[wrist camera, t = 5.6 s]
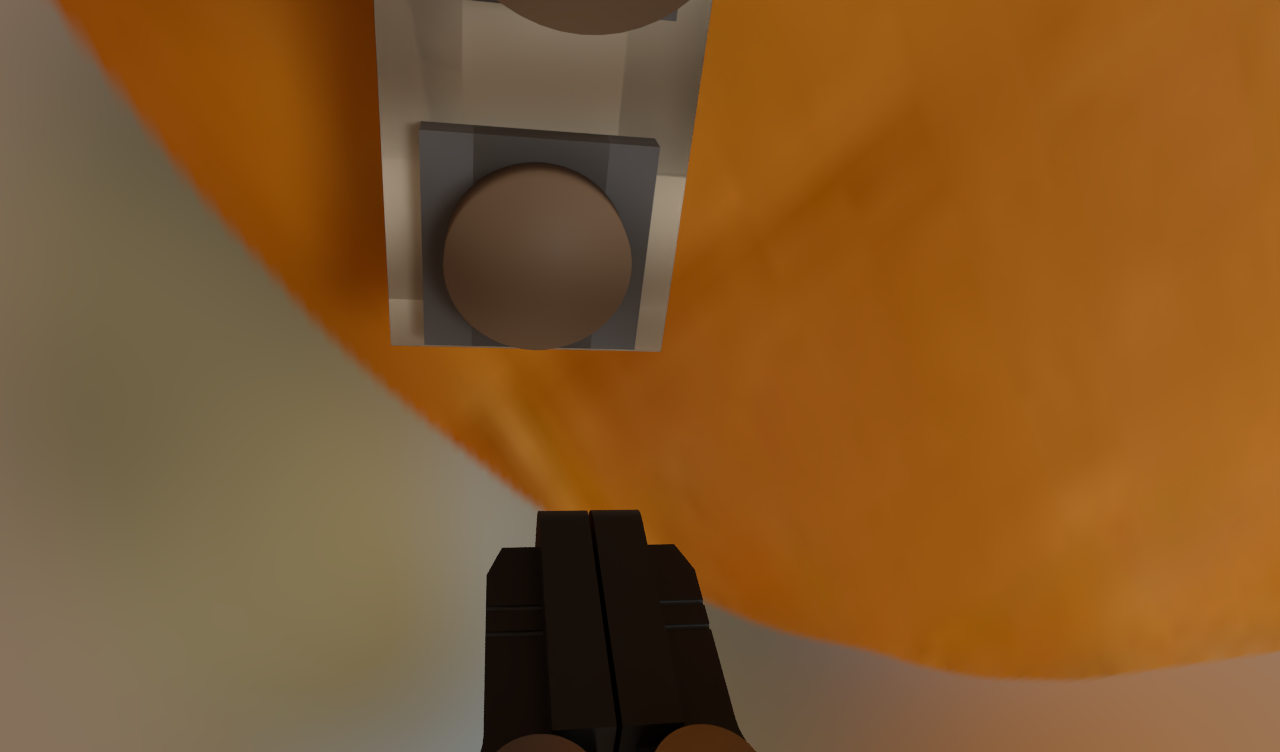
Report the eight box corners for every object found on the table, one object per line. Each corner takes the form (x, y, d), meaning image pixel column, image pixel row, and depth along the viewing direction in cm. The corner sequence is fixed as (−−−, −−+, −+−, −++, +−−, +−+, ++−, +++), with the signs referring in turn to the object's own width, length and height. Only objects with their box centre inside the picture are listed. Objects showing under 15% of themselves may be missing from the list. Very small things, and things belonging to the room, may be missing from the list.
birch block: (383, -337, 19) (347, -406, 15) (705, -281, 21) (770, -325, 16) (406, 273, 28) (388, 359, 23) (636, 282, 29) (664, 365, 24)
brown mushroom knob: (453, 103, 25) (442, 171, 19) (609, 115, 25) (642, 183, 20) (453, 250, 27) (444, 347, 22) (596, 257, 28) (621, 352, 22)
